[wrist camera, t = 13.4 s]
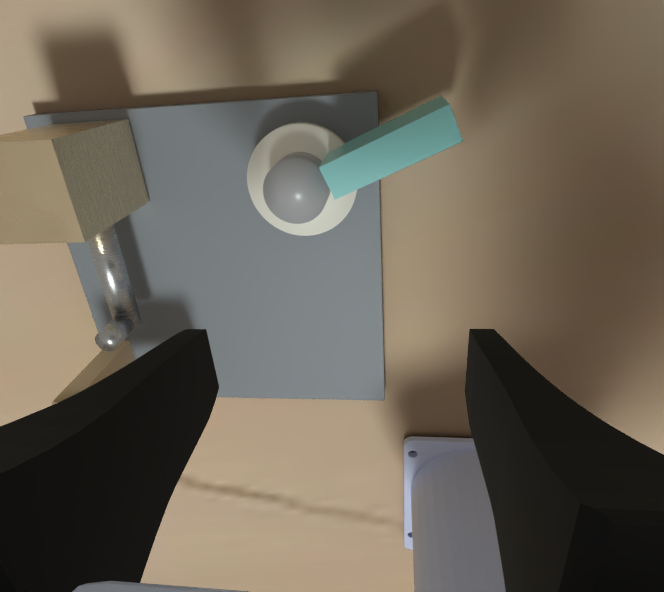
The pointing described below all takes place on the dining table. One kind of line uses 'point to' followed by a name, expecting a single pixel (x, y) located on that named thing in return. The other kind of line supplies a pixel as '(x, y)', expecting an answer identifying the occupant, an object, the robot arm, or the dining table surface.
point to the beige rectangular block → (76, 201)
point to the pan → (338, 165)
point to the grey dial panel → (243, 255)
